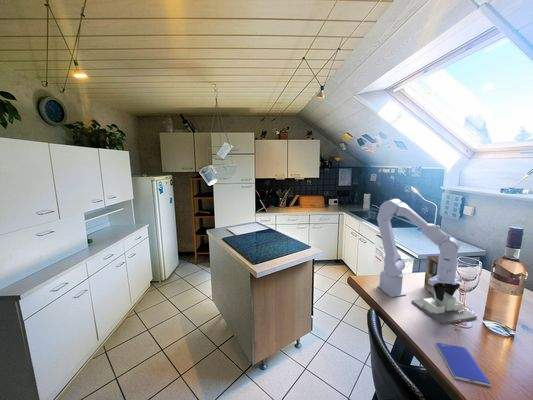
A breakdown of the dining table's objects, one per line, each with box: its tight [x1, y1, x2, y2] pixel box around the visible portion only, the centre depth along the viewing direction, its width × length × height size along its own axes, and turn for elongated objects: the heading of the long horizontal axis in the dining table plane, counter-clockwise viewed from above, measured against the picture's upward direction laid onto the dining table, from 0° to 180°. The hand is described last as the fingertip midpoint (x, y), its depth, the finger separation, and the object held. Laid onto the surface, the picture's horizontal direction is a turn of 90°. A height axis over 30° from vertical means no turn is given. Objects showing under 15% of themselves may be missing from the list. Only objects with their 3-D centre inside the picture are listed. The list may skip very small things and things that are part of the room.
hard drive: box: [435, 342, 491, 387], centre depth 67 cm, size 2×8×12 cm
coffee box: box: [423, 255, 444, 296], centre depth 104 cm, size 9×6×16 cm
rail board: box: [411, 296, 478, 326], centre depth 92 cm, size 14×16×4 cm
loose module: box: [433, 291, 457, 311], centre depth 91 cm, size 6×4×5 cm, turn 10°
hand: (443, 298), depth 91 cm, fingers closed on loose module, 3 cm apart
